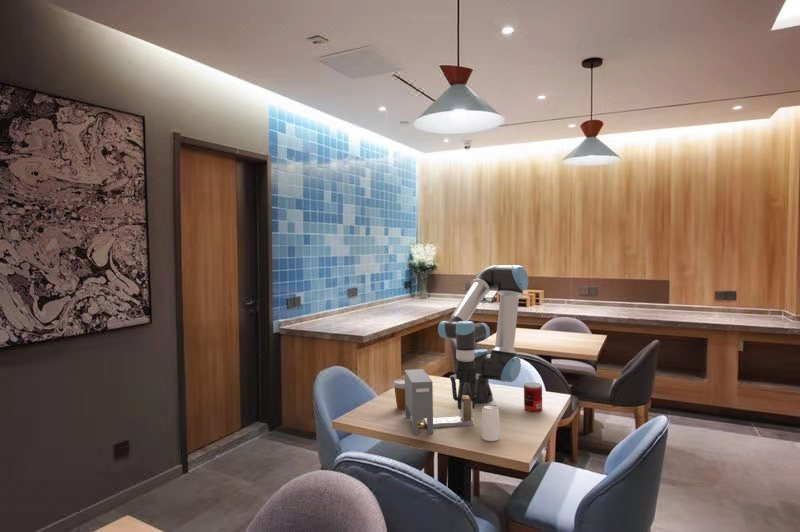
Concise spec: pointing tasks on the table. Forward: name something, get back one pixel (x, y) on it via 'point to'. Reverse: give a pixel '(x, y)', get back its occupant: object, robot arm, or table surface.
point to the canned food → (533, 397)
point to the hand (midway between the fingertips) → (466, 416)
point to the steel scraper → (455, 420)
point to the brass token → (421, 424)
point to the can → (490, 422)
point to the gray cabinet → (419, 398)
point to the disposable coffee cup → (400, 393)
